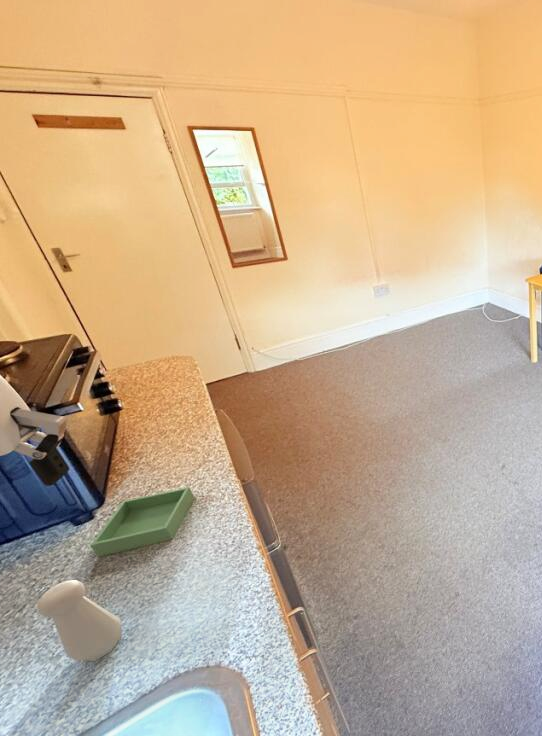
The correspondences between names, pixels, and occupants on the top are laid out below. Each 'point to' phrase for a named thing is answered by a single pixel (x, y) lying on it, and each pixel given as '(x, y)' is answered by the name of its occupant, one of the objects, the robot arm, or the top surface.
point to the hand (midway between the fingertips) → (11, 485)
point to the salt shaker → (80, 621)
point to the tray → (143, 521)
